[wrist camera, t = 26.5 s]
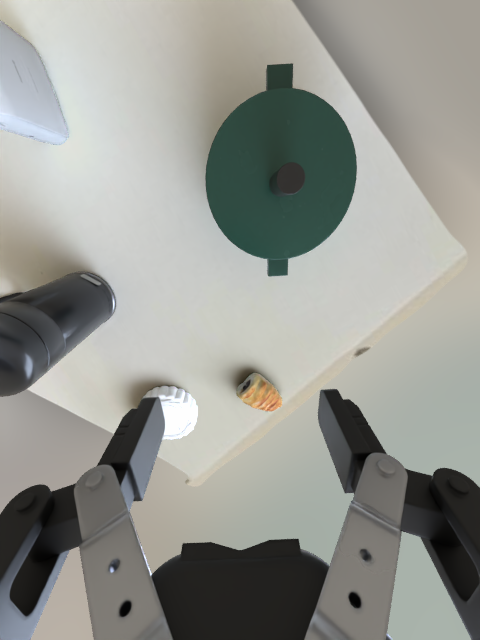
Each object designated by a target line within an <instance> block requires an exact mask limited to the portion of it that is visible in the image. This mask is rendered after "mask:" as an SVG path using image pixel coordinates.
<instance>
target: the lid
mask: <svg viewBox="0 0 480 640" xmlns="http://www.w3.org/2000/svg"><path fill="white" fill-rule="evenodd" d="M356 172H357V165H356V154H355V148H354V144H353V141H352V138H351V135H350V133H349V130H348V128H347V126H346V124H345V123H344V121H343V120H342V118H341V117H340V115H339V114H338V113H337V112H336V111H335V109H334V108H333V107H332V106H331V105H329V104H328V103H327V102H326V101H325V100H323V99H321V98H320V97H318V96H316V95H315V94H312V93H310V92H307V91H304V90H300V89H295V88H278V89H271V90H268V91H265V92H261V93H259V94H257V95H255V96H253V97H251V98H249V99H248V100H246V101H245V102H243V103H242V104H240V105H239V106H238V107H237V108H236V109H235V110H234V111H233V112H232V113H231V114H230V115H229V116H228V118H227V119H226V120H225V121H224V123H223V124H222V126H221V127H220V129H219V131H218V132H217V134H216V136H215V139H214V141H213V143H212V146H211V149H210V152H209V156H208V161H207V166H206V192H207V198H208V202H209V206H210V209H211V212H212V214H213V217H214V219H215V221H216V223H217V224H218V226H219V228H220V229H221V231H222V232H223V233H224V235H225V236H226V237H227V238H228V239H229V240H230V241H231V242H232V243H233V244H235V245H236V246H237V247H238V248H240V249H241V250H243V251H245V252H247V253H249V254H251V255H253V256H256V257H260V258H264V259H272V260H281V259H289V258H293V257H297V256H299V255H302V254H305V253H307V252H309V251H310V250H312V249H314V248H316V247H317V246H318V245H320V244H321V243H322V242H324V241H325V240H326V239H327V238H328V237H329V236H330V235H331V234H332V233H333V232H334V230H335V229H336V228H337V227H338V225H339V224H340V222H341V221H342V219H343V217H344V216H345V214H346V212H347V210H348V207H349V205H350V203H351V200H352V196H353V193H354V188H355V183H356Z"/></svg>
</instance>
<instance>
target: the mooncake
mask: <svg viewBox="0 0 480 640" xmlns="http://www.w3.org/2000/svg"><path fill="white" fill-rule="evenodd" d="M146 397H159V398H160V400H161V405H162V409H163V414H164V418H165V431H164V435H163V438H162V439H166V438H167V439H169V440H173V439H174V438H177V439H179V438H181V437H182V436H186V435H188V433H189V432H190V431H192V430H193V427H194V425H195V424H196V420H197V414H198V413H197V410H198V406H197V405H196V404H195V403H196V401H195V399H193V398H191V395H190V394H189V393H185V391H184V390H183V389H177V388H176V387H175V386H171V387H168V386H162V387H161V388H160V387H155V388H154V389H153V390H150V391H148V392H147V393H146V395H144V396H143V398H146ZM143 398H142V399H143Z"/></svg>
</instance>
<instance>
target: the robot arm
mask: <svg viewBox="0 0 480 640" xmlns="http://www.w3.org/2000/svg"><path fill="white" fill-rule="evenodd" d="M115 307H116V300H115V296H114V293H113V291H112V289H111V288H110V286H109V285H108V284H107V283H106V282H105V281H104V280H103V279H101V278H100V277H98V276H97V275H94V274H92V273H88V272H74V273H71V274H68V275H66V276H65V277H63V278H60V279H58V280H55V281H53V282H50V283H48V284H46V285H43V286H41V287H38V288H36V289H32V290H30V291H28V292H25V293H15V294H11V295H8V296H5V297H2V298H0V397H3V396H10V395H14V394H17V393H20V392H22V391H24V390H26V389H27V388H29V387H30V386H31V385H32V384H34V383H35V382H36V381H37V380H38V379H39V378H40V377H42V376H43V375H44V374H45V373H46V372H47V371H49V370H50V369H51V368H52V367H53V366H54V365H55V364H57V363H58V362H59V361H60V360H61V359H62V358H63V357H64V356H66V355H67V354H68V353H69V352H70V351H71V350H73V349H74V348H75V347H76V346H77V345H78V344H79V343H81V342H82V341H83V340H84V339H85V338H86V337H87V336H89V335H90V334H91V333H92V332H93V331H94V330H95V329H97V328H98V327H99V326H100V325H101V324H102V323H104V322H105V321H107V320H108V319H109V318H110V317H111V316H112V315H113V313H114V311H115ZM318 420H319V425H320V428H321V431H322V433H323V436H324V439H325V441H326V444H327V447H328V449H329V452H330V455H331V457H332V460H333V463H334V465H335V468H336V471H337V473H338V476H339V478H340V481H341V484H342V487H343V489H344V492H345V493H354V498H353V500H352V501H351V503H350V506H349V509H348V512H347V515H346V518H345V521H344V524H343V527H342V530H341V533H340V536H339V539H338V542H337V545H336V548H335V551H334V554H333V557H332V560H331V563H330V566H329V565H328V564H327V563H326V562H324V561H323V560H322V559H320V558H319V557H317V556H316V555H314V554H312V553H310V552H308V551H305V550H302V549H300V545H299V539H281V540H269V541H266V542H263V543H260V544H258V545H255V546H252V547H250V548H247V549H244V550H236V549H232V548H229V547H225V546H222V545H219V544H215V543H212V542H207V543H184V544H183V545H182V551H181V554H180V555H177V556H175V557H173V558H172V559H170V560H168V561H167V562H165V563H164V564H163V565H162V566H160V567H159V568H158V569H157V570H156V571H155V572H154V573H153V574H152V573H151V571H150V568H149V565H148V562H147V560H146V557H145V554H144V551H143V548H142V545H141V542H140V540H139V537H138V534H137V531H136V528H135V525H134V522H133V520H132V517H131V514H130V508H131V505H132V503H133V501H142V500H143V497H144V494H145V491H146V488H147V485H148V482H149V478H150V475H151V472H152V469H153V466H154V463H155V459H156V457H157V454H158V450H159V447H160V444H161V441H162V438H163V435H164V431H165V418H164V414H163V409H162V405H161V400H160V398H159V397H146V398H143V399H142V400H141V402H140V404H139V406H138V408H137V409H131V410H130V411H129V412H128V413H127V414H126V415H125V416H124V417H123V419H122V420H121V422H120V424H119V426H118V428H117V430H116V432H115V433H114V436H113V437H112V439H111V441H110V443H109V445H108V447H107V448H106V450H105V452H104V454H103V456H102V458H101V459H100V462H99V463H98V465H97V466H96V467H94V468H92V469H90V470H88V471H87V472H86V473H84V474H83V475H82V476H81V477H80V479H79V480H78V481H77V483H76V484H73V485H70V486H67V487H64V488H61V489H58V490H55V491H52V492H51V491H50V489H49V488H48V486H46V485H35V486H32V487H30V488H27V489H25V490H24V491H22V492H20V493H19V494H18V495H16V496H15V497H14V498H13V499H12V500H11V501H10V502H9V503H8V504H7V506H6V507H5V509H4V510H3V511H2V513H1V514H0V640H30V639H31V637H32V634H33V632H34V630H35V628H36V625H37V623H38V621H39V618H40V616H41V614H42V612H43V609H44V607H45V605H46V603H47V600H48V598H49V595H50V593H51V591H52V589H53V587H54V584H55V582H56V580H57V578H58V575H59V573H60V571H61V568H62V566H63V564H64V562H65V559H66V557H67V555H68V553H69V550H71V549H73V548H75V547H78V546H79V548H80V556H81V561H82V568H83V574H84V580H85V587H86V593H87V599H88V605H89V612H90V617H91V624H92V631H93V637H94V640H393V639H392V638H391V637H390V636H389V635H388V634H387V629H388V622H389V615H390V608H391V601H392V594H393V588H394V581H395V574H396V568H397V561H398V554H399V547H400V541H401V531H403V532H406V533H409V534H413V535H416V536H419V537H421V539H422V541H423V543H424V545H425V547H426V549H427V551H428V553H429V555H430V557H431V559H432V561H433V563H434V565H435V567H436V569H437V571H438V573H439V575H440V577H441V579H442V581H443V583H444V585H445V587H446V589H447V591H448V593H449V595H450V597H451V599H452V601H453V603H454V605H455V607H456V609H457V611H458V613H459V615H460V617H461V619H462V621H463V623H464V625H465V627H466V629H467V631H468V633H469V635H470V637H471V639H472V640H480V488H479V487H478V486H477V485H476V484H475V483H474V482H473V481H472V480H471V479H470V478H468V477H467V476H465V475H464V474H462V473H460V472H458V471H456V470H452V469H448V468H440V469H437V470H436V471H435V472H434V474H433V476H431V475H426V474H422V473H418V472H414V471H410V470H408V469H405V468H404V467H403V465H402V464H401V463H400V462H399V461H397V460H396V459H395V458H393V457H391V456H389V455H387V454H386V452H385V450H384V449H383V447H382V446H381V444H380V442H379V441H378V439H377V437H376V436H375V434H374V433H373V431H372V429H371V427H370V426H369V425H368V422H367V421H366V419H365V418H364V416H363V414H362V412H361V411H360V409H359V407H358V406H357V405H355V404H354V403H353V402H352V401H351V400H349V399H348V400H343V399H342V397H341V395H340V393H339V391H338V390H337V389H328V390H321V391H320V398H319V409H318Z"/></svg>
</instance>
